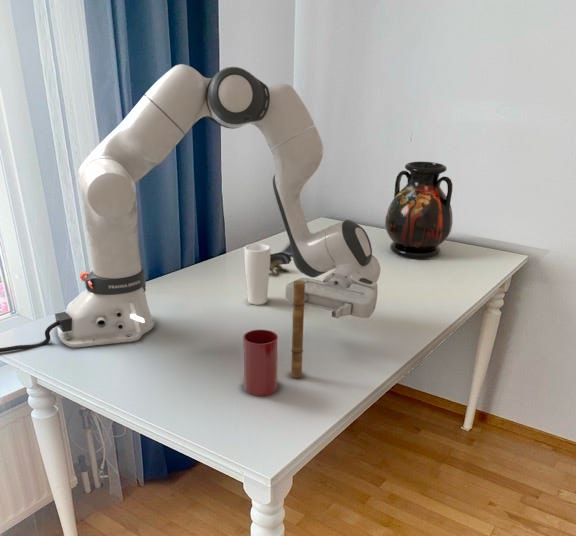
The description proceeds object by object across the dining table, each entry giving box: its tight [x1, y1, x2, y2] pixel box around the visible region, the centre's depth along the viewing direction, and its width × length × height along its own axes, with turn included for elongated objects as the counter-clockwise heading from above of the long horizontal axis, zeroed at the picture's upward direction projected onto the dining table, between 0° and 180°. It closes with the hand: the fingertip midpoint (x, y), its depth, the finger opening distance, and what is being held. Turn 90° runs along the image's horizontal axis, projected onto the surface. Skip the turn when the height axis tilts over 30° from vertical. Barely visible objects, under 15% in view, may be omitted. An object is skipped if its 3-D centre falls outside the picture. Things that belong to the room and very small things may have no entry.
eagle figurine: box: [270, 251, 293, 276], centre depth 180 cm, size 8×7×9 cm
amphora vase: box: [384, 161, 453, 260], centre depth 194 cm, size 22×22×28 cm
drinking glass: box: [243, 243, 271, 306], centre depth 158 cm, size 7×7×15 cm
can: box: [242, 329, 279, 397], centre depth 120 cm, size 7×7×12 cm
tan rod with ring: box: [290, 279, 306, 379], centre depth 122 cm, size 2×2×21 cm
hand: (314, 309), depth 127 cm, fingers open, 8 cm apart
